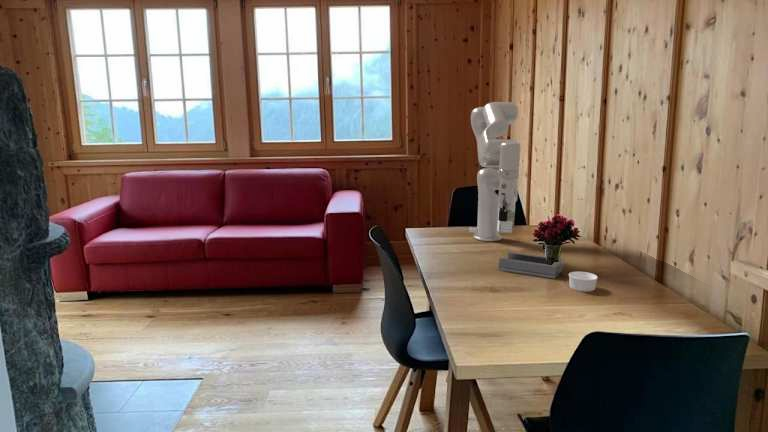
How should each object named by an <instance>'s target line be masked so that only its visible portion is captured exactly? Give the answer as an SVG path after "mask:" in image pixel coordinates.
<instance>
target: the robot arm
mask: <svg viewBox="0 0 768 432" xmlns="http://www.w3.org/2000/svg"><path fill="white" fill-rule="evenodd" d="M518 117H519V110H518V107H517V105H516V104H515V103H514V102H513V101H512V102H511V101H491V102H489V103H486V105H485V104H484V106H479V107H478V106H477V107H476V108H474V109H473V110H471V114H470V124H471V128H472V131H473V134H474V136H475V139H476V145H477V147H476V148H477V157H478V162H479V165H480V166H481V167H483V168H481V169H479V171H478V172H477V175H476V182H477V192H478V194H477V198H478V201H477V226H476V227H471V226H469V228H468V232H469V233H474V234H473V239H475V240H478V241H483V242H498V241H501V240H502V239H503V236H502V235H501V234H500V233H499V232H498V230H497V224H498V209H499V221H505V222H506V221H507V212H508V211H507V207H508V204H509V205H511V204H513V198H514V197H515V199H516V202H518V185H519V184H518V183H519V182H518V181H519V177H520V176H519V175H520V173H519V172H520V160H521V158H520V157H521V144H520V143H519V142H518V141H517V140H516V139H500V138H499V137H501V136H503V135H505V134H506V133H508V130H509V125H512V124H513V123H515V122H516V121H517V119H518ZM497 138H499V139H497ZM496 191H498V194H497V192H496ZM503 202H507V203H503ZM504 205H506V206H504Z"/></svg>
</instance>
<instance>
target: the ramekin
mask: <svg viewBox="0 0 768 432" xmlns="http://www.w3.org/2000/svg"><path fill="white" fill-rule="evenodd" d="M568 277H569V278H568V279H569V281H568V283H569V285H568V286H569V287H570V289H572V290H574V291H578V292H585V293H587V292H588V293H589V292H593V291H595V290H596V286H597V281H598V276H597V275H596V274H594V273H592V272H587V271H571V272H569V273H568Z"/></svg>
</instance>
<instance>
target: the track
mask: <svg viewBox="0 0 768 432" xmlns="http://www.w3.org/2000/svg"><path fill="white" fill-rule="evenodd" d="M546 257H547V256H543V255H537V254H536V255H535V254H530V253H529V254H528V253H522V252H514V251H508V252H507V257H506V258H505V257H500V258H499V259H498V267H497V270H498V271H503V272H508V273H514V274H515V273H516V274H523V275H527V276H534V277H542V278H546V279H547V278H548V279H556V278H557V277H558V275H559V274H560V273H561V272H562V271H563V270H564V259H563V258H559V262H554V263H553V264H552V265H548V264H547V262H546Z"/></svg>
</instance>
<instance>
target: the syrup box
mask: <svg viewBox="0 0 768 432" xmlns="http://www.w3.org/2000/svg"><path fill="white" fill-rule="evenodd" d="M516 202H517V201H516V199H515V197H514V198H513V204H511V205H509V204H508V207H507V211H508V212H507V221H506V222H505V221H499V209H498V224H497V230H498V232H499V233H498V234H512V235H513V234H514V226H515V214H516ZM503 203H507V202H503ZM504 206H506V205H504Z"/></svg>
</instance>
